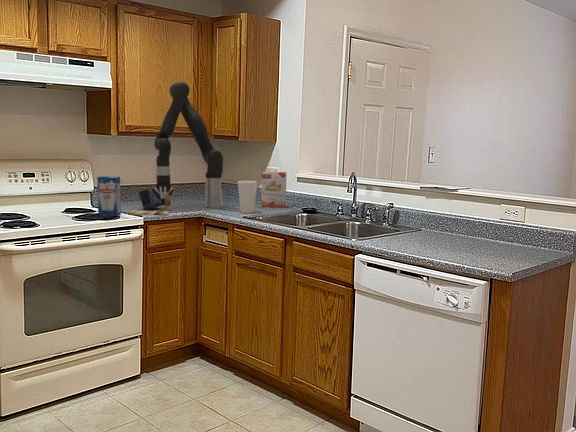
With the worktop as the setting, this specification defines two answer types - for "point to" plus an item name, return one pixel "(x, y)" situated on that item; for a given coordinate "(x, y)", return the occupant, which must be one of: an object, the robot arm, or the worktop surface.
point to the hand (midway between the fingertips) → (164, 205)
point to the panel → (149, 212)
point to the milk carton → (109, 196)
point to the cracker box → (273, 189)
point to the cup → (247, 195)
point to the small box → (149, 199)
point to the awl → (167, 202)
